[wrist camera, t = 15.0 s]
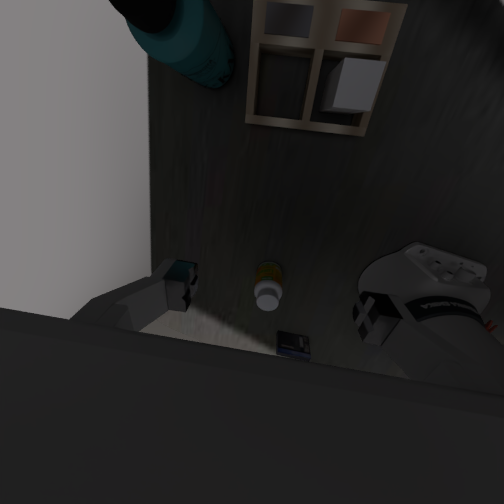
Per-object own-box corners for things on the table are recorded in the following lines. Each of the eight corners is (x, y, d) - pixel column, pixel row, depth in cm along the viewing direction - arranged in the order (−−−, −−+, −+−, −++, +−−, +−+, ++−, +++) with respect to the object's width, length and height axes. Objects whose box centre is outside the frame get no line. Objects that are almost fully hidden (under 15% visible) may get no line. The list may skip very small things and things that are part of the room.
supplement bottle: (274, 257, 44) (273, 287, 35) (285, 275, 46) (287, 308, 38) (252, 266, 46) (247, 297, 37) (264, 283, 48) (261, 316, 39)
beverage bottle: (181, 55, 29) (40, -48, 12) (218, 13, 26) (107, -197, 9) (212, 103, 31) (132, 75, 14) (248, 68, 29) (205, -16, 12)
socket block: (390, 20, 25) (409, 2, 21) (354, 135, 31) (364, 136, 28) (257, 8, 26) (253, -12, 22) (248, 123, 32) (244, 122, 28)
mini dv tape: (308, 336, 56) (311, 358, 50) (306, 340, 56) (309, 361, 51) (277, 330, 56) (277, 350, 50) (276, 333, 56) (276, 354, 51)
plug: (356, 79, 28) (386, 61, 20) (346, 114, 30) (370, 111, 22) (326, 75, 28) (345, 57, 20) (318, 111, 30) (332, 106, 23)
